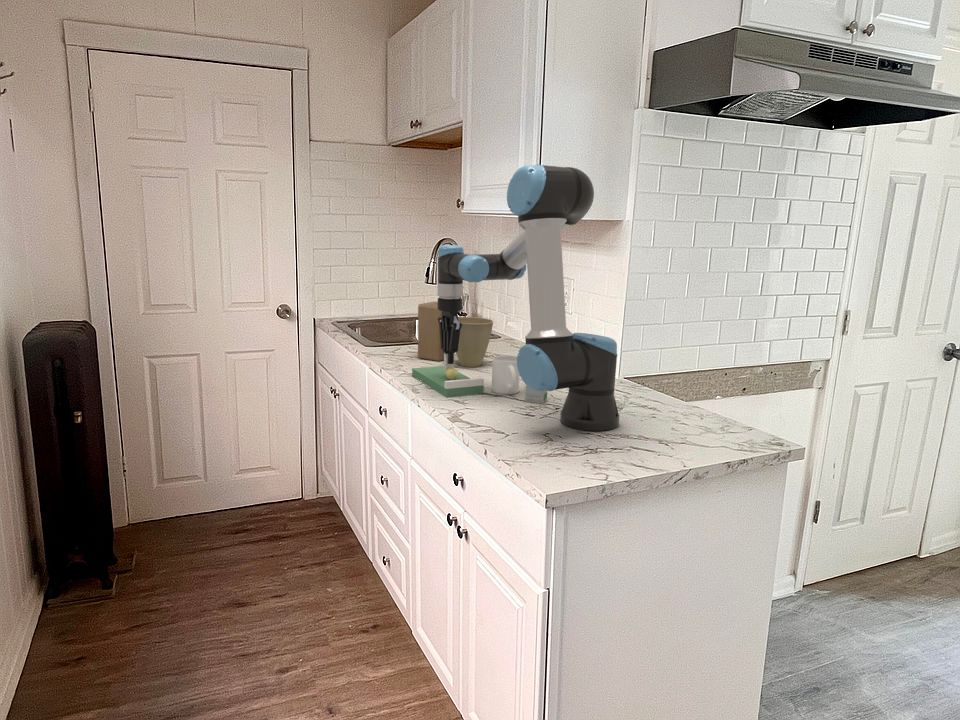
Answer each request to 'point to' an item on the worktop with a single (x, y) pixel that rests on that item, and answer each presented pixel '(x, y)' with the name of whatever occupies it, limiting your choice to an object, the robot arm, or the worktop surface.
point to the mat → (448, 382)
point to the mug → (505, 375)
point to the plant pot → (473, 340)
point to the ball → (451, 373)
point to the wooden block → (429, 332)
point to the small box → (534, 395)
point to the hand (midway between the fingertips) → (448, 373)
